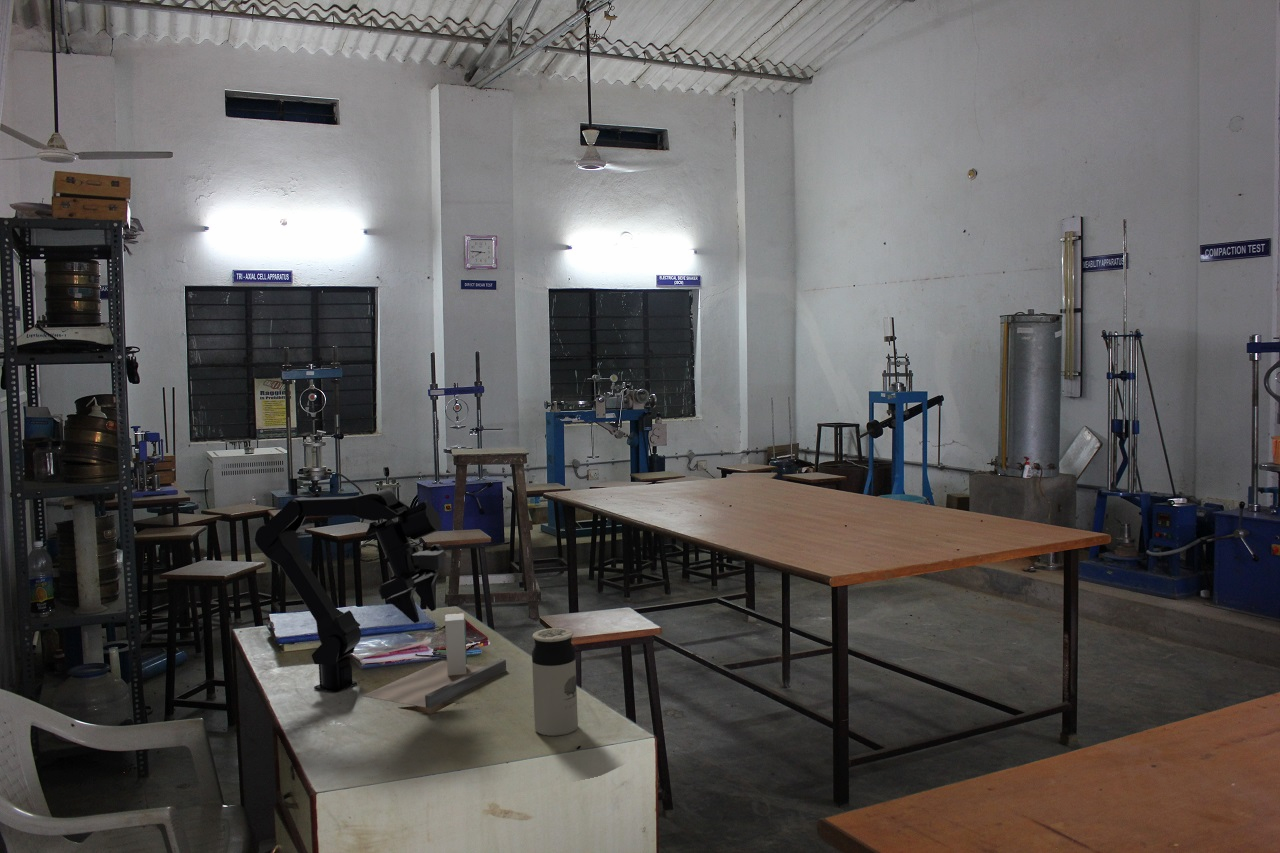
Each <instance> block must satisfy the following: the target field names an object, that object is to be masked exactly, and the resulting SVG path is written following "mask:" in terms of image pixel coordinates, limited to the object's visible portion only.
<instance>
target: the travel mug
mask: <svg viewBox="0 0 1280 853" xmlns="http://www.w3.org/2000/svg"><path fill="white" fill-rule="evenodd" d="M573 636H574V631H572V630H570V629H568V628H559V627H553V628H552V627H551V628H550V627H549V628H545V629H544V628H543V629H540V630H537V631H535V632H534V633H533V634H532V638H533V640H534V647H533V649H532V652H531V663H532V664H531V667H532V686H533V687H532V689H533V690H532V691H533V692H532V693H533V713H534V714H533V715H534V716H533V717H534V730H535V732H536V733H538V734H540V735H543V736H546V735H547V736H548V737H559V735H561V736H565V735H568V734H570V733H572V732H574V731H576V730H577V729H578V727H579V722H578V721H579V720H578V719H579V718H578V696H577V695H578V694H577V693H578V692H577V669H576V666H577V665H576V663H577V662H576V649H575V646H574V645H573V643H572V639H573ZM547 736H546V737H547Z"/></svg>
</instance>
